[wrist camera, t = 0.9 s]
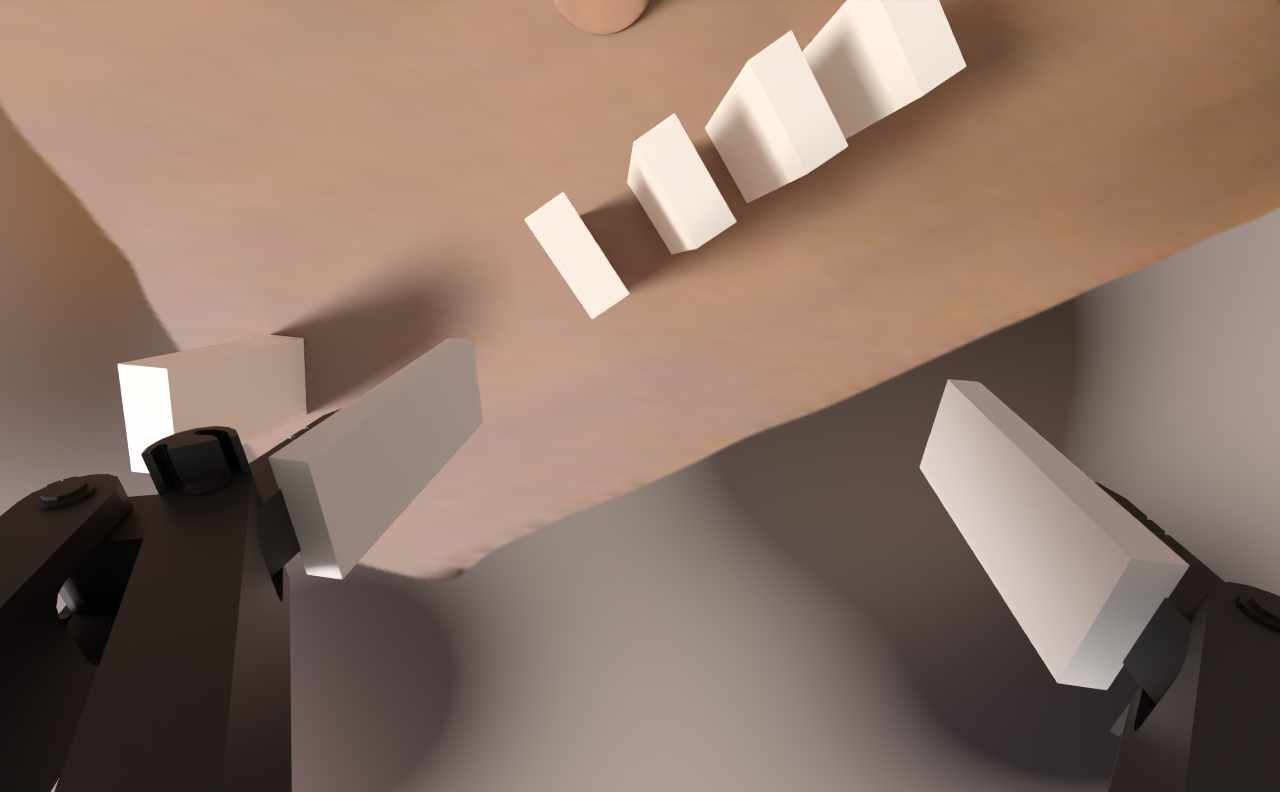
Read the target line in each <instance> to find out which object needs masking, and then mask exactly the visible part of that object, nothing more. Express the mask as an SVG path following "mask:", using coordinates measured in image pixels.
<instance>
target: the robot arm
mask: <svg viewBox="0 0 1280 792" xmlns="http://www.w3.org/2000/svg"><path fill="white" fill-rule="evenodd" d="M482 423H483V421H482V412H481V403H480V394H479V386H478V377H477V368H476V359H475V350H474V341H473V340H471V339H459V338H447V339H446V340H444V341H443V342H441V343H440V344H438V345H437V346H435V347H434V348H432V349H431V350H429V351H428V352H426V353H425V354H423V355H422V356H420V357H419V358H417V359H416V360H414V361H413V362H411V363H410V364H408V365H407V366H405V367H404V368H402V369H401V370H399V371H398V372H396V373H395V374H393V375H392V376H390V377H389V378H387V379H386V380H384V381H383V382H381V383H380V384H378V385H377V386H375V387H374V388H372V389H371V390H369V391H368V392H366V393H365V394H363V395H362V396H360V397H359V398H357V399H355V400H354V401H352V402H351V403H349V404H348V405H346V406H345V407H343V408H341V409H339V410H336V411H334V412H331V413H329V414H326V415H324V416H322V417H320V418H319V419H317V420H315V421H314V422H312V423H311V424H309V425H308V426H306V428H305V429H302V430H300V431H299V432H297V433H296V434H294V435H292V436H291V439H286V440H285V441H283V442H282V443H280V444H279V445H277V446H276V447H274V448H273V449H271V450H269V451H268V452H266V453H265V454H263V455H262V456H260V457H259V458H257V459H256V460H254V461H253V462H251V463H250V464H249V463H248V461H247V458H246V455H245V452H244V450H243V447H242V444H241V441H240V438H239V435H238V433H237V431H236V430H235V429H232V428H230V427H224V426H210V427H201V428H195V429H191V430H186V431H182V432H178V433H176V434H173V435H170V436H168V437H165V438H162V439H160V440H158V441H157V442H155V443H153V444H151V445H150V446H148V447H147V448H146V449H145V450H144V451H143V452H142V453H141V456H142V458H143V460H144V463H145V465H146V467H147V469H148V471H149V474H150V476H151V478H152V480H153V482H154V484H155V486H156V489H157V491H158V493H159V494H158V495H146V496H134V497H128V496H127V494H126V492H125V490H124V488H123V486H122V484H121V482H120V480H119V479H118V477H116V476H113V475H109V474H96V475H87V476H82V477H71V478H67V479H64V481H62V482H61V480H60V481H57V482H54V483H51V484H49V485H47V487H45V488H42V489H40V490H38V491H36V492H33V493H31V494H30V495H28V496H27V497H25V498H23V499H22V500H20V501H19V502H17V503H16V504H15V505H14V506H12V507H11V508H10V509H9V510H7V511H6V512H5V513H4V514H3V515H1V516H0V792H51V790H52V788H53V787H54V785H55V784H56V782H57V781H58V783H57V786H56V789H55V792H292V765H291V764H292V762H291V684H290V683H291V679H290V678H291V674H290V587H289V576H288V574H287V571H286V568H285V564H286V563H287V562H289V561H290V560H291V559H292V558H293V557H294V556H295V555H296V554H297V553H298V552H300V555H301V557H302V561H303V563H304V566H305V570H306V572H307V574H308V575H315V576H322V577H330V578H336V579H343V578H344V577H345V576H346V575H347V574H348V573H349V571H350V570H351V569H352V568H353V567H354V566H355V565H356V564H357V562H358V561H359V560H360V559H361V558H362V557H363V556H364V555H365V554H366V552H367V551H368V550H369V549H370V548H371V547H372V546H373V545H374V543H375V542H376V541H377V540H378V539H379V538H380V537H381V536H382V535H383V533H384V532H385V531H386V530H387V529H388V528H389V527H390V526H391V524H392V523H393V522H394V521H395V520H396V519H397V518H398V517H399V516H400V514H401V513H402V512H403V511H404V510H405V509H406V508H407V507H408V505H409V504H410V503H411V502H412V501H413V500H414V499H415V498H416V496H417V495H418V494H419V493H420V492H421V491H422V490H423V489H424V488H425V486H426V485H427V484H428V483H429V482H430V481H431V480H432V479H433V477H434V476H435V475H436V474H437V473H438V472H439V471H440V470H441V469H442V467H443V466H444V465H445V464H446V463H447V462H448V461H449V460H450V458H451V457H452V456H453V455H454V454H455V453H456V452H457V451H458V450H459V448H460V447H461V446H462V445H463V444H464V443H465V442H466V441H467V439H468V438H469V437H470V436H471V435H472V434H473V433H474V432H475V431H476V429H477V428H478V427H479V426H480V425H481V424H482ZM920 469H921V471H922V472H923V474H924V475H925V477H926V478H927V480H928V481H929V483H930V485H931V486H932V488H933V489H934V491H935V492H936V494H937V495H938V497H939V499H940V500H941V502H942V503H943V505H944V506H945V508H946V509H947V511H948V513H949V514H950V516H951V517H952V519H953V520H954V522H955V524H956V525H957V527H958V528H959V530H960V531H961V533H962V534H963V536H964V538H965V539H966V541H967V542H968V544H969V545H970V547H971V549H972V550H973V552H974V553H975V555H976V556H977V558H978V560H979V561H980V563H981V564H982V566H983V567H984V569H985V571H986V572H987V574H988V575H989V577H990V578H991V580H992V581H993V583H994V585H995V586H996V588H997V589H998V591H999V592H1000V594H1001V595H1002V597H1003V599H1004V600H1005V601H1006V603H1007V605H1008V606H1009V608H1010V609H1011V611H1012V613H1013V614H1014V616H1015V617H1016V619H1017V620H1018V622H1019V624H1020V625H1021V627H1022V628H1023V630H1024V631H1025V633H1026V634H1027V636H1028V638H1029V639H1030V641H1031V642H1032V644H1033V645H1034V647H1035V649H1036V650H1037V652H1038V653H1039V655H1040V656H1041V658H1042V659H1043V661H1044V663H1045V664H1046V666H1047V667H1048V669H1049V670H1050V672H1051V673H1052V675H1053V677H1054V678H1055V680H1056V681H1057V683H1062V684H1069V685H1076V686H1083V687H1089V688H1096V689H1104V690H1107V689H1108V688H1109V686H1110V685H1111V683H1112V682H1113V680H1114V679H1115V677H1116V676H1117V674H1118V673H1119V671H1120V670H1121V668H1122V667H1123V665H1125V666H1126V667H1127V669H1128V670H1129V671H1130V672H1131V674H1132V675H1133V676H1134V677H1135V679H1136V680H1137V681H1138V682H1139V684H1140V685H1141V688H1140V689H1139V690H1138V692H1137V693H1136V695H1135V696H1134V698H1133V699H1132V700H1131V702H1130V703H1129V705H1128V706H1127V708H1126V709H1125V710H1124V712H1123V713H1122V715H1121V716H1120V717H1119V719H1118V720H1117V722H1116V723H1115V724H1114V726H1113V727H1112V729H1111V730H1110V731H1111V732H1112V733H1114V734H1115V735H1117V736H1119V735H1120V734H1121V733H1122V732H1123V734H1122V738H1121V742H1120V746H1119V750H1118V754H1117V758H1116V762H1115V766H1114V770H1113V774H1112V779H1111V783H1110V786H1109V790H1108V792H1280V596H1278V595H1275V594H1273V593H1270V592H1267V591H1264V590H1261V589H1258V588H1255V587H1252V586H1248V585H1243V584H1237V583H1232V582H1224V581H1223V580H1222V579H1221V578H1220V577H1218V576H1217V575H1216V574H1215V573H1214V572H1212V571H1211V570H1210V569H1209V568H1208V567H1207V566H1205V565H1204V564H1203V563H1202V562H1201V561H1199V560H1198V559H1197V558H1196V557H1195V556H1194V555H1192V554H1191V553H1190V552H1189V551H1188V550H1186V549H1185V548H1184V547H1183V546H1182V545H1180V544H1179V543H1178V542H1177V541H1176V540H1174V539H1173V538H1172V537H1171V536H1170V535H1165V531H1164V530H1162V529H1161V528H1160V527H1159V526H1158V525H1157V524H1155V523H1154V522H1153V521H1152V520H1147V516H1146V515H1145V514H1144V513H1142V512H1141V511H1140V510H1139V509H1138V508H1136V507H1135V506H1134V505H1133V504H1132V503H1131V502H1129V501H1128V500H1127V499H1126V498H1124V497H1122V496H1120V495H1119V494H1117V493H1115V492H1113V491H1111V490H1109V489H1108V488H1106V487H1104V486H1103V485H1101V484H1099V483H1097V482H1093V481H1092V480H1091V479H1090V478H1089V477H1087V476H1086V475H1085V474H1084V473H1083V472H1082V471H1081V470H1079V469H1078V468H1077V467H1076V466H1075V465H1074V464H1073V463H1071V462H1070V461H1069V460H1068V459H1067V458H1066V457H1065V456H1063V455H1062V454H1061V453H1060V452H1059V451H1058V450H1057V449H1055V448H1054V447H1053V446H1052V445H1051V444H1050V443H1048V442H1047V441H1046V440H1045V439H1044V438H1043V437H1042V436H1040V435H1039V434H1038V433H1037V432H1036V431H1035V430H1034V429H1032V428H1031V427H1030V426H1029V425H1028V424H1027V423H1025V422H1024V421H1023V420H1022V419H1021V418H1020V417H1019V416H1017V415H1016V414H1015V413H1014V412H1013V411H1012V410H1010V409H1009V408H1008V407H1007V406H1006V405H1005V404H1004V403H1003V402H1001V401H1000V400H999V399H998V398H997V397H996V396H995V395H993V394H992V393H991V392H990V391H989V390H988V389H986V388H985V387H984V386H983V385H982V384H981V383H979V382H972V381H960V380H948V381H947V384H946V388H945V391H944V394H943V397H942V400H941V403H940V406H939V409H938V412H937V416H936V419H935V421H934V425H933V428H932V431H931V434H930V437H929V440H928V443H927V446H926V449H925V452H924V455H923V459H922V461H921V465H920ZM58 593H59V594H60V595H61V597H62V598H63V600H64V602H65V603H66V606H65V607H64V609H63V610H62V611H61V612H60V613H59V614H58V611H57V608H56V605H57V598H58ZM58 779H59V780H58Z"/></svg>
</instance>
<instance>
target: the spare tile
mask: <svg viewBox="0 0 1280 792" xmlns="http://www.w3.org/2000/svg"><path fill="white" fill-rule="evenodd" d="M118 370H119V377H120V385H121V393H122V400H123V408H124V416H125V423H126V431H127V438H128V446H129V454H130V461H131V469H132V472H143V473H149V471H148V469H147V467H146V465H145V463H144V460H143V458H142V456H141V453H142V452H143V451H144V450H145V449H146V448H147V447H148V446H150V445H151V444H153V443H155V442H157V441H158V440H160V439H162V438H165V437H168V436H170V435H173V434H176V433H178V432H182V431H186V430H191V429H195V428H201V427H210V426H224V427H230V428H232V429H235V430H236V431H237V433H238V435H239V438H240V441H241V444H242V445H244V444H246V443H248V442H250V441H252V440H254V439H256V438H258V437H260V436H263V435H265V434H267V433H269V432H271V431H273V430H275V429H277V428H279V427H282V426H284V425H286V424H288V423H290V422H292V421H294V420H296V419H298V418H301V417H303V416H305V415H307V409H306V385H305V361H304V338H297V337H288V336H278V335H266V336H260V337H255V338H250V339H245V340H240V341H234V342H229V343H224V344H219V345H214V346H208V347H203V348H198V349H193V350H187V351H182V352H177V353H172V354H167V355H162V356H157V357H151V358H146V359H141V360H135V361H131V362H125V363H120V364H118Z"/></svg>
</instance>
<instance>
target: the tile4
mask: <svg viewBox="0 0 1280 792" xmlns="http://www.w3.org/2000/svg"><path fill="white" fill-rule="evenodd" d="M705 130H706V131H707V133H708V135H709V137H710V138H711V140H712V142H713V144H714V146H715V147H716V149H717V151H718V153H719V155H720V156H721V158H722V160H723V162H724V163H725V165H726V167H727V169H728V171H729V172H730V174H731V176H732V178H733V179H734V181H735V183H736V185H737V187H738V188H739V190H740V192H741V194H742V196H743V197H744V199H745V201H746V203H749V202H751V201H753V200H755V199H757V198H759V197H761V196H763V195H766V194H768V193H770V192H772V191H774V190H776V189H778V188H780V187H782V186H784V185H786V184H788V183H790V182H792V181H794V180H796V179H798V178H800V177H802V176H804V175H806V174H808V173H809V172H811V171H812V170H814V169H815V168H817V167H818V166H820V165H821V164H823V163H824V162H826V161H827V160H829V159H830V158H832V157H833V156H835V155H836V154H838V153H839V152H841V151H842V150H844V149H845V148H846V147H848V144H847V142H846V140H845V138H844V136H843V134H842V132H841V130H840V128H839V126H838V123H837V121H836V119H835V117H834V115H833V113H832V111H831V109H830V107H829V105H828V103H827V101H826V99H825V97H824V95H823V93H822V91H821V89H820V87H819V85H818V83H817V81H816V79H815V77H814V75H813V73H812V71H811V69H810V67H809V65H808V63H807V61H806V59H805V57H804V55H803V53H802V51H801V49H800V47H799V45H798V43H797V41H796V39H795V37H794V35H793V33H792V31H789V32H788V33H786V34H785V35H784V36H782V37H781V38H779V39H778V40H777V41H775V42H774V43H772V44H771V45H770V46H768V47H767V48H765V49H764V50H762V51H761V52H760V53H758V54H757V55H755V56H754V57H753V58H751V59H750V60H748V62H747V63H746V65H745V66H744V68H743V69H742V71H741V72H740V74H739V76H738V77H737V79H736V80H735V82H734V83H733V85H732V86H731V88H730V90H729V91H728V93H727V94H726V96H725V97H724V99H723V100H722V102H721V104H720V105H719V107H718V108H717V110H716V111H715V113H714V114H713V116H712V118H711V119H710V121H709V122H708V124H707V125H706V127H705Z"/></svg>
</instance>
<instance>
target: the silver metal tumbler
mask: <svg viewBox="0 0 1280 792" xmlns="http://www.w3.org/2000/svg"><path fill="white" fill-rule="evenodd" d="M649 1H650V0H552V2H553V3H554V5H555V7H556V8H557V10H558V11H559V12H560V14H561V15H562V16H563V17H564V18H565V19H566V20H567V21H568V22H569V23H571V24H572V25H574V26H575V27H577V28H579V29H581V30H583V31H585V32H588V33H592V34H599V35H605V34H612V33H616V32H619V31H621V30H623V29H625V28H627V27H628V26H630V25H631V24H632V23H634V22H635V21H636V20H637V19H638V18H639V17H640V15H641V14H642V13H643V11H644V10H645V8H646V7H647V5H648V3H649Z"/></svg>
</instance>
